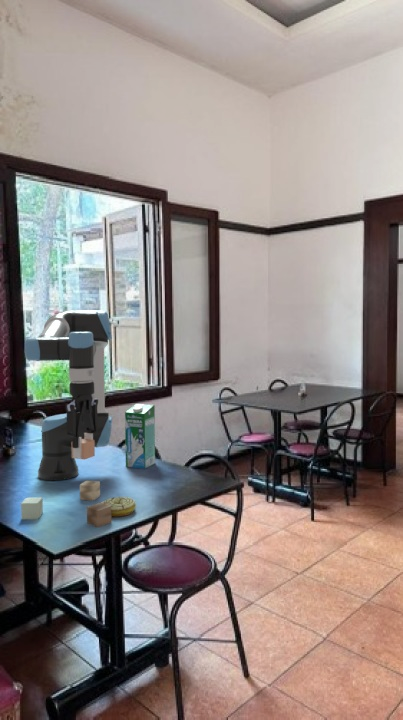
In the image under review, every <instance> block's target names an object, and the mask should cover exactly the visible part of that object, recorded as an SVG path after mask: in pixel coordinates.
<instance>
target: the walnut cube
mask: <svg viewBox="0 0 403 720" xmlns="http://www.w3.org/2000/svg"><path fill="white" fill-rule="evenodd" d="M86 519H87V520H86V521H87V522H86V523H87V524H89V525H90V526H93V527H95V528H101V527H103V526H106V525H108V524H110V523H112V516H111V506H109V505H106V504H103V503H102V502H97V503H95V504H91V505H89V506H87V507H86Z"/></svg>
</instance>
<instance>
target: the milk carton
mask: <svg viewBox="0 0 403 720" xmlns="http://www.w3.org/2000/svg"><path fill="white" fill-rule="evenodd" d="M155 408H156V406H155V404H148V403H147V404H145V403H135V404H134V405H132V406H131V407H130V408H128V409H127V410H126V411H125V412H124V425H125V426H124V427H125V429H124V430H125V432H124V434H125V435H124V436H125V441H124V443H125V467H127V468H133V469H134V468H135V469H143V470H145V469H147V468H149V467H151V466H153V465H154V464H156V434H155V433H156V432H155V431H156V430H155V429H156V426H155V421H156V419H155V414H156V413H155V411H156V410H155Z"/></svg>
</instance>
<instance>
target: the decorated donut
mask: <svg viewBox="0 0 403 720" xmlns="http://www.w3.org/2000/svg"><path fill="white" fill-rule="evenodd" d="M101 503H103V504H106V505H109V506H111V517H115V518H117V517H125V516H128V515H131V514H132V513H133V511H134V510H135V509H136V507H137V505H136V501H135V499H134V498H132V497H129V496H127V497H126V496H116V497H115V496H114V497H111V498H107V499H105V500H103V501H102V502H101Z"/></svg>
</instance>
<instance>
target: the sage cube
mask: <svg viewBox="0 0 403 720" xmlns="http://www.w3.org/2000/svg"><path fill="white" fill-rule="evenodd" d="M43 501H44V500H43V497H25V498H24V500H22V502H21V503H20V512H21V514H20V516H21V518H20V519H21V520H39V519H38V518H40V517H41V516H42V515H43V514H44V511H43V510H44V504H43ZM41 514H42V515H41Z"/></svg>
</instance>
